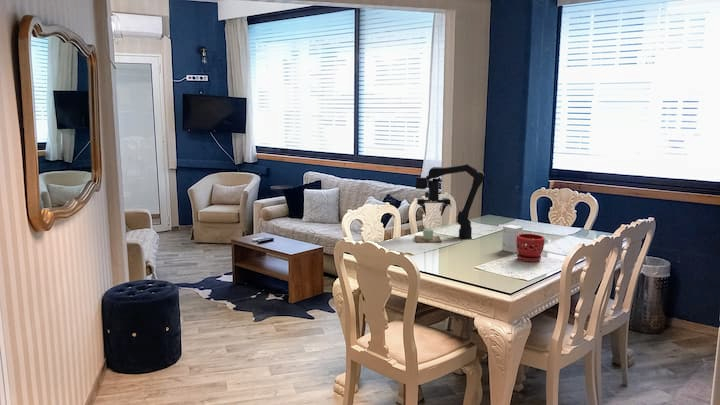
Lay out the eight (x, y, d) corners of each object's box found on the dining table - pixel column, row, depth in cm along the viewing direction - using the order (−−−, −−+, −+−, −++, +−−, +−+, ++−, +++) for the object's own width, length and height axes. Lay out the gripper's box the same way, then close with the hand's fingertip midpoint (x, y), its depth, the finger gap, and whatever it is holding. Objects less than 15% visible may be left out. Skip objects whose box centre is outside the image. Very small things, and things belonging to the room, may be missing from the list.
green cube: (432, 237, 317) (432, 228, 316) (432, 239, 312) (433, 230, 311) (423, 237, 317) (423, 228, 316) (423, 239, 312) (424, 230, 311)
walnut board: (439, 237, 320) (439, 235, 320) (441, 242, 308) (441, 240, 308) (414, 237, 321) (414, 235, 320) (416, 242, 309) (416, 240, 309)
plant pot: (539, 264, 267) (540, 240, 264) (512, 260, 273) (513, 237, 271) (546, 258, 277) (547, 234, 275) (520, 254, 284) (521, 231, 282)
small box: (522, 251, 290) (523, 226, 288) (514, 253, 286) (515, 228, 284) (509, 248, 296) (510, 224, 294) (501, 250, 292) (502, 226, 290)
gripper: (448, 187, 326) (447, 213, 329) (416, 187, 327) (416, 213, 329) (450, 190, 315) (450, 217, 318) (417, 190, 316) (417, 217, 318)
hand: (433, 216), depth 321 cm, fingers open, 9 cm apart
